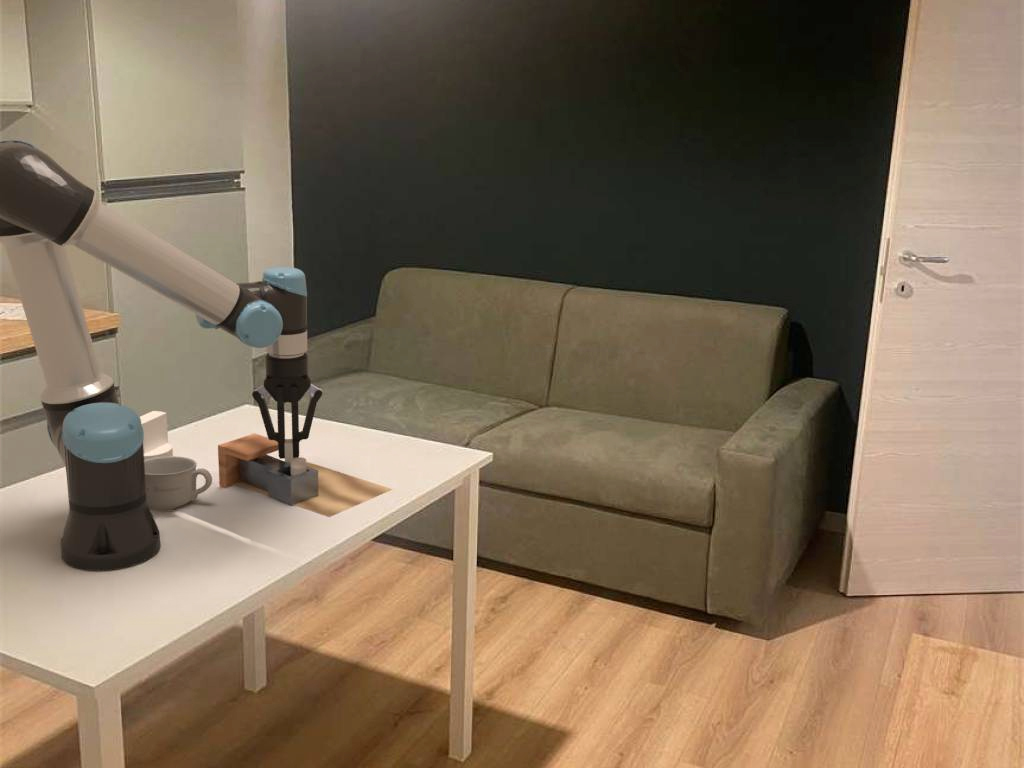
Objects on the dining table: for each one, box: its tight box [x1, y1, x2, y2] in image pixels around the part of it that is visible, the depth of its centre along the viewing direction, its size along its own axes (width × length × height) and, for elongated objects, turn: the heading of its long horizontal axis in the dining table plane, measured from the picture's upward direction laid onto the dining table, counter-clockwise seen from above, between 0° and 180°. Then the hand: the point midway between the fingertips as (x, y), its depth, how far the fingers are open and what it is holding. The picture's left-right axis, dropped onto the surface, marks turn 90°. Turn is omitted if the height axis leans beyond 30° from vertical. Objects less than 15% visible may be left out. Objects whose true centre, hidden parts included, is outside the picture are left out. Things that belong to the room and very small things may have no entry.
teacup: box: [144, 455, 213, 512], centre depth 188 cm, size 14×11×8 cm
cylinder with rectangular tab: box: [139, 410, 174, 460], centre depth 201 cm, size 9×9×12 cm
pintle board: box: [217, 433, 393, 518], centre depth 198 cm, size 18×28×8 cm, turn 55°
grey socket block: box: [239, 454, 319, 506], centre depth 196 cm, size 16×6×5 cm, turn 52°
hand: (289, 473), depth 199 cm, fingers closed
